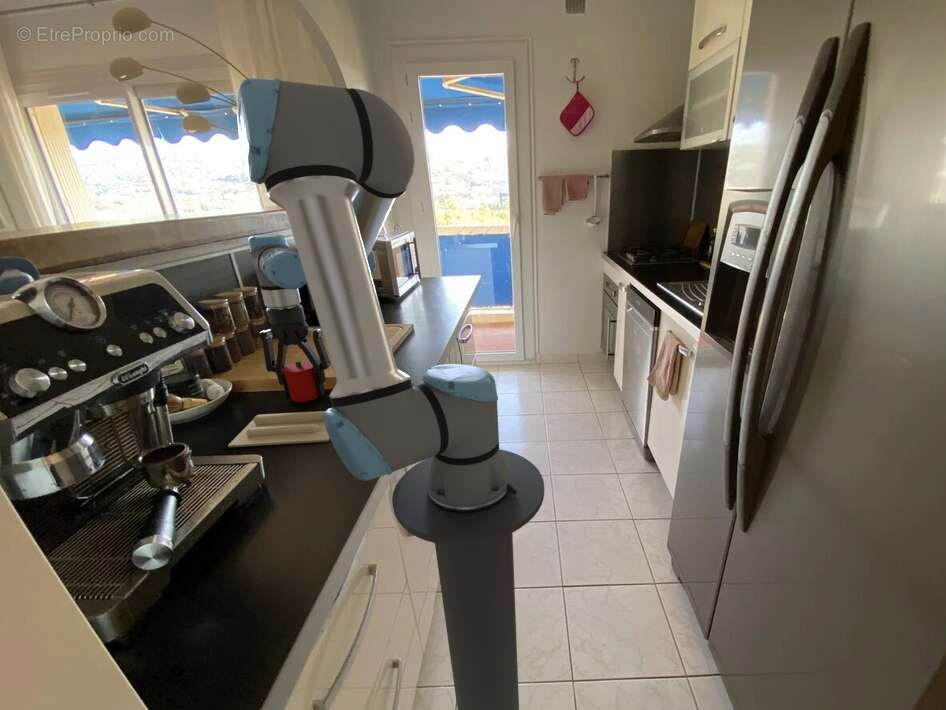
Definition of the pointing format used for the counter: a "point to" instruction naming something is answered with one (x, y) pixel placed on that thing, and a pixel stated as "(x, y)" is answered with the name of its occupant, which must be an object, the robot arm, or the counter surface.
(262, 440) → the cream ridged board
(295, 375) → the pepper
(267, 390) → the counter surface
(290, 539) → the counter surface
